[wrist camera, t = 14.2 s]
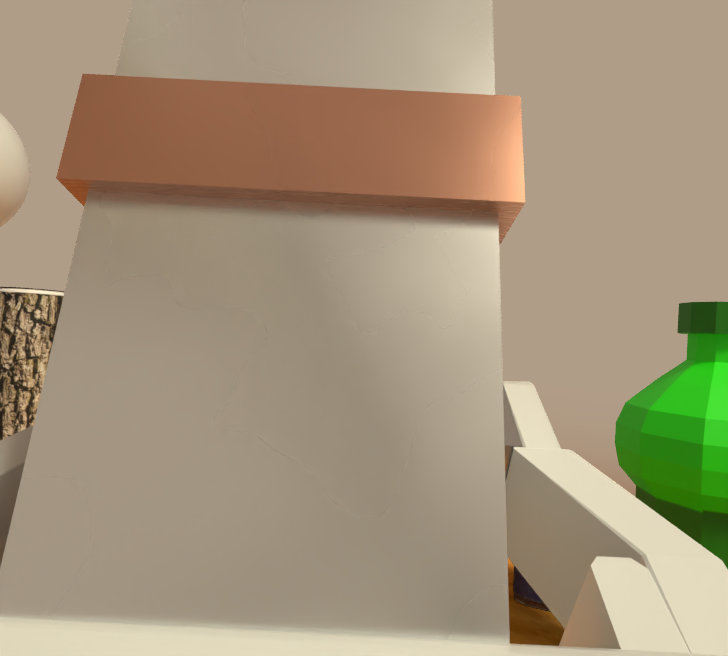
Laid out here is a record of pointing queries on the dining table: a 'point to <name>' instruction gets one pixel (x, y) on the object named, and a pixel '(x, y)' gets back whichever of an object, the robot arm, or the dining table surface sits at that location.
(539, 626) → the dining table surface
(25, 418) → the paper tube
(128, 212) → the bar
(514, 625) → the dining table surface
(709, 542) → the plastic bottle
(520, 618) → the dining table surface
